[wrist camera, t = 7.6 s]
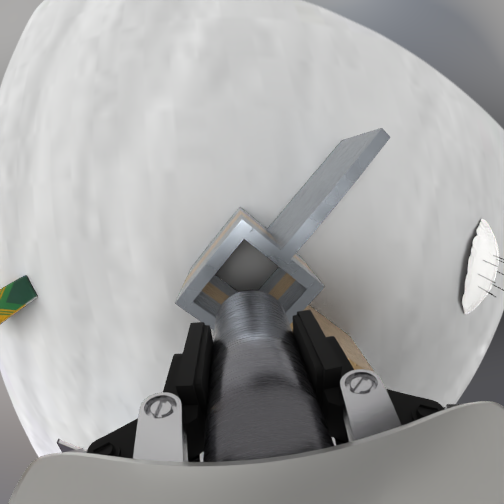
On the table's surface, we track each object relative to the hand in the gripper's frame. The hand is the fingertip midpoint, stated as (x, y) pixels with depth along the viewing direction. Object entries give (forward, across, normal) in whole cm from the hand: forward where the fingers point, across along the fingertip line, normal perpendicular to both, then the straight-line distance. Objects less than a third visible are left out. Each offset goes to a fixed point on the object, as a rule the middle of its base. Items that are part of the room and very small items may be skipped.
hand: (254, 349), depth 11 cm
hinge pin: (+2, 0, 0) cm, 2 cm away
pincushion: (+13, -28, +4) cm, 31 cm away
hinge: (+13, -7, 0) cm, 15 cm away
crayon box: (+14, +27, +2) cm, 30 cm away
